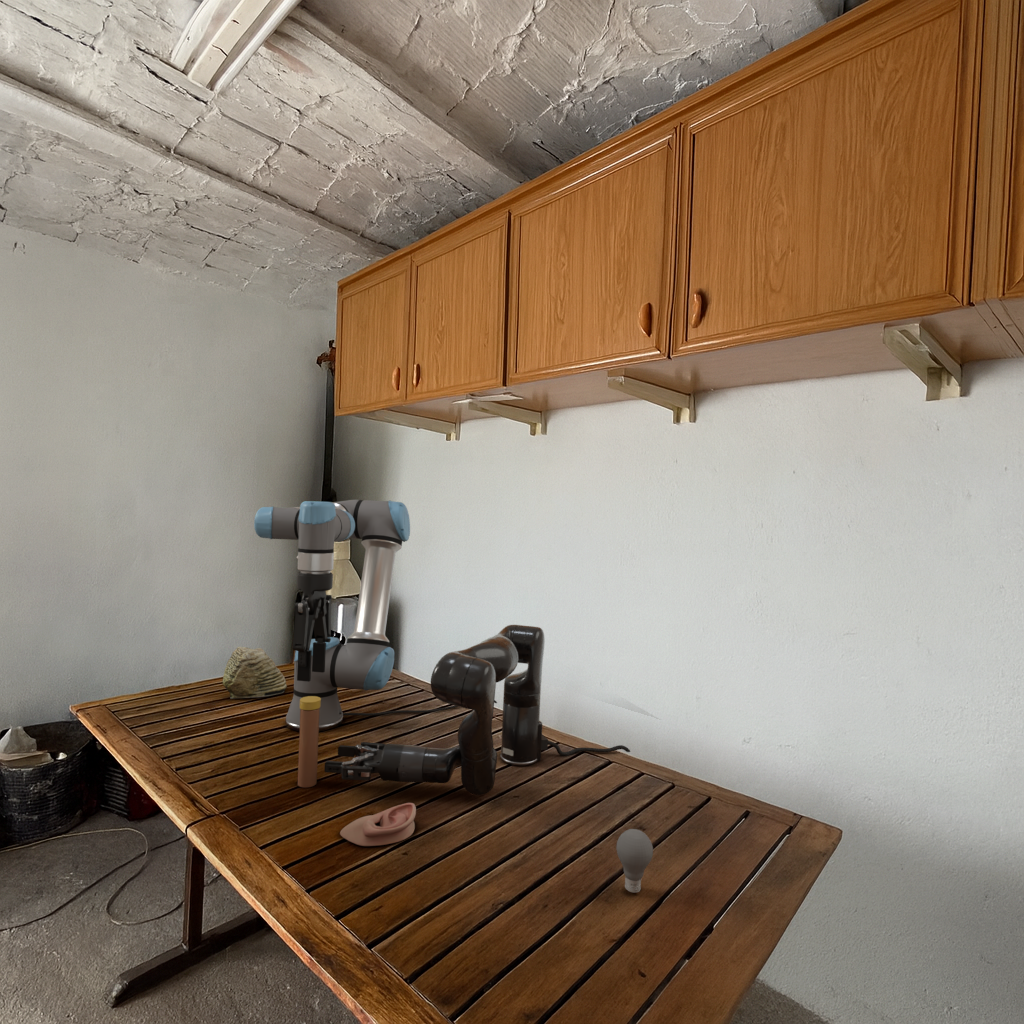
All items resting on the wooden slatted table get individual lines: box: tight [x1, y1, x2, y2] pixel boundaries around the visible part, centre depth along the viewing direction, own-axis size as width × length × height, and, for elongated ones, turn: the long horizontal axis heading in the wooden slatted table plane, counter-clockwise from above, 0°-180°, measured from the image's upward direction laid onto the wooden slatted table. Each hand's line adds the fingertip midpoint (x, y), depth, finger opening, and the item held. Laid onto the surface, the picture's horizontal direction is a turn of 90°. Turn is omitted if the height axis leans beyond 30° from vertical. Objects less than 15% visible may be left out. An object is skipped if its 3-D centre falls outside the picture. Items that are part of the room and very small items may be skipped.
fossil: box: [222, 646, 288, 699], centre depth 198 cm, size 9×18×15 cm, turn 132°
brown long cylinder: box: [297, 708, 320, 789], centre depth 139 cm, size 4×4×18 cm
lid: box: [300, 696, 321, 710], centre depth 139 cm, size 4×4×2 cm
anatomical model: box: [339, 802, 417, 847], centre depth 121 cm, size 13×4×12 cm
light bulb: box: [615, 828, 654, 894], centre depth 106 cm, size 6×6×10 cm
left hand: (311, 675), depth 139 cm, fingers open, 7 cm apart
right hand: (331, 758), depth 139 cm, fingers open, 8 cm apart
